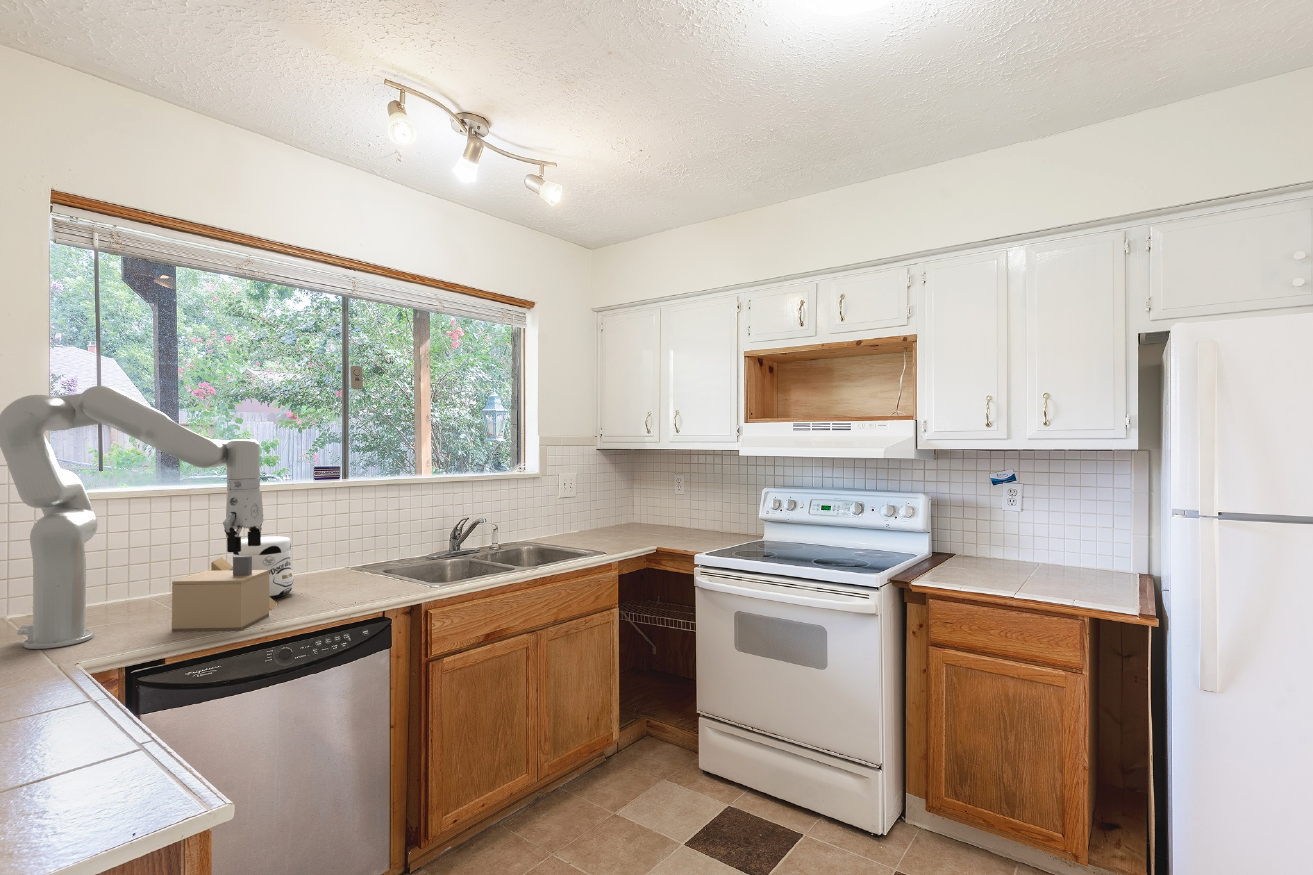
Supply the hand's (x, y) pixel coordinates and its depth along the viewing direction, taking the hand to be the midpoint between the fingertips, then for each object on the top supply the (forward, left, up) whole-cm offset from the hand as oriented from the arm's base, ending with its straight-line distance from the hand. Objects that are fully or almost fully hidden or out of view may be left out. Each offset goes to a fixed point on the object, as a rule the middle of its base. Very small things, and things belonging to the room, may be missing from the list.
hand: (244, 548), depth 176 cm
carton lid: (-5, 0, -8) cm, 10 cm away
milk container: (-10, +30, -20) cm, 38 cm away
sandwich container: (-8, +16, -20) cm, 27 cm away
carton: (-5, 0, -20) cm, 21 cm away
